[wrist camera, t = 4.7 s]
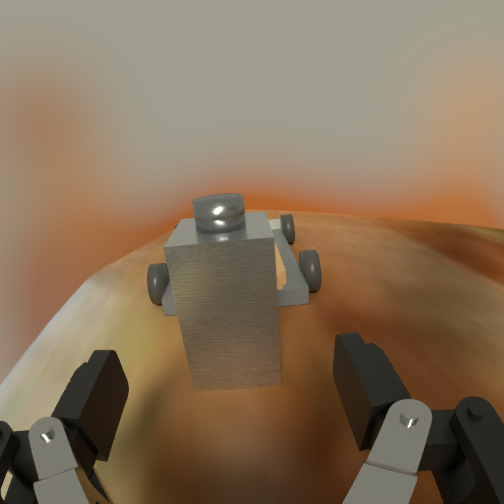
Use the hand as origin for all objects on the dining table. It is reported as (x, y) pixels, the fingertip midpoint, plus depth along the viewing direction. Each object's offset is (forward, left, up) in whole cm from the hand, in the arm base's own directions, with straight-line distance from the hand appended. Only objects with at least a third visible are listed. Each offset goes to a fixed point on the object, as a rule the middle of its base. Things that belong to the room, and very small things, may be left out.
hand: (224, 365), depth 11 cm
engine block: (-3, -7, -6) cm, 9 cm away
